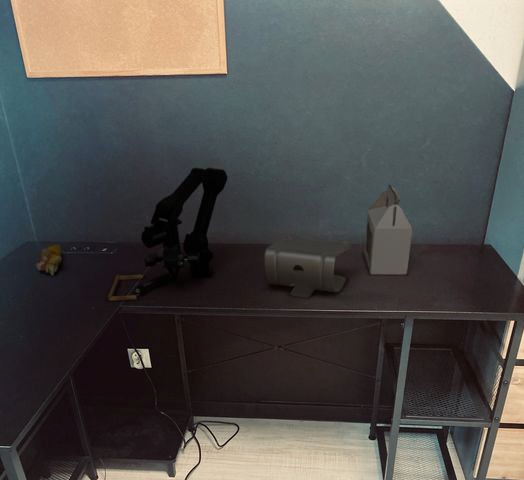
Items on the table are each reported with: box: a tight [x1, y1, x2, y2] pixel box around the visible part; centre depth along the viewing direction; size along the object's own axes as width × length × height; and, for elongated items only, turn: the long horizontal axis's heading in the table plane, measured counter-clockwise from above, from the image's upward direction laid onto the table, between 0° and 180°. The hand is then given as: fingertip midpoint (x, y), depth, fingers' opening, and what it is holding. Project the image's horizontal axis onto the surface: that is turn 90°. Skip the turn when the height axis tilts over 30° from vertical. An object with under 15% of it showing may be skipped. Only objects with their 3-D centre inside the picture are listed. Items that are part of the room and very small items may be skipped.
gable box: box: [363, 184, 413, 276], centre depth 196 cm, size 22×13×28 cm, turn 176°
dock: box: [107, 274, 144, 301], centre depth 188 cm, size 10×19×2 cm, turn 4°
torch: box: [35, 243, 62, 276], centre depth 208 cm, size 8×8×25 cm
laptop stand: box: [264, 234, 352, 299], centre depth 184 cm, size 26×24×16 cm
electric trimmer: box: [133, 272, 171, 296], centre depth 189 cm, size 4×16×3 cm, turn 142°
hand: (175, 281), depth 189 cm, fingers closed
